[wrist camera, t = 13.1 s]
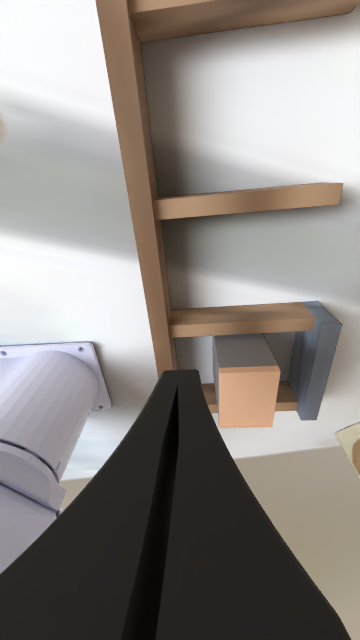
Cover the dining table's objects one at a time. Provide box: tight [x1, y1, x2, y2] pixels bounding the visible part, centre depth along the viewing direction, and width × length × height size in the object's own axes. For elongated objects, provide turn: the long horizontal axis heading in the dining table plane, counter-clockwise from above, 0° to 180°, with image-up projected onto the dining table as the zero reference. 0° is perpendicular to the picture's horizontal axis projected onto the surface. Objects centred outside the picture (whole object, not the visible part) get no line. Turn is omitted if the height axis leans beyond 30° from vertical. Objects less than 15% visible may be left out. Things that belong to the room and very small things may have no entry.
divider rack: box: [96, 0, 360, 420], centre depth 16 cm, size 12×25×4 cm, turn 5°
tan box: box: [213, 333, 281, 428], centre depth 19 cm, size 4×5×6 cm
